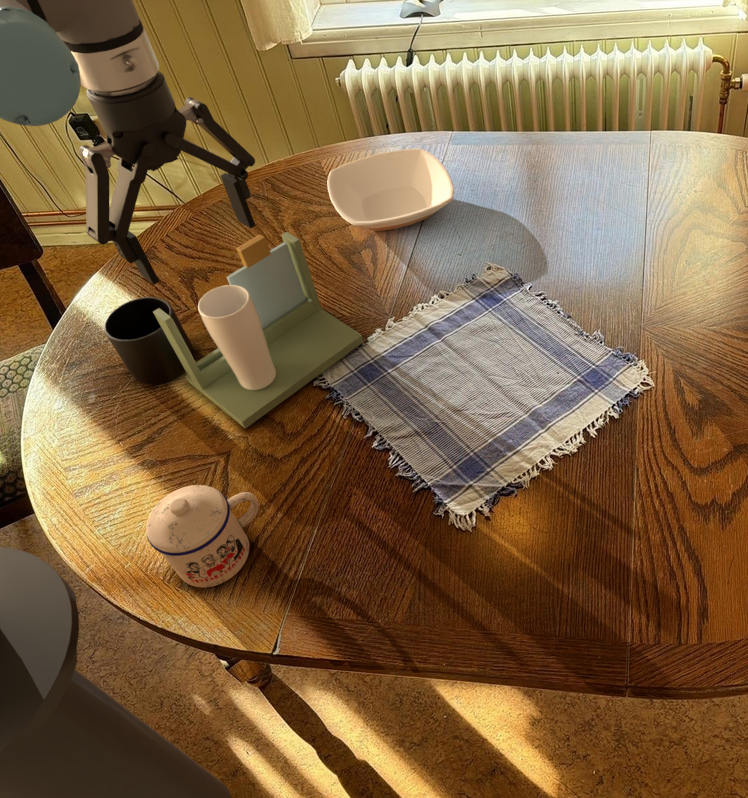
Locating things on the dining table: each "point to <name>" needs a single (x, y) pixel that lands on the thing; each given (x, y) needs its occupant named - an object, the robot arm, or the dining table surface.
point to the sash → (268, 279)
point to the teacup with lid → (201, 533)
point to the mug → (145, 340)
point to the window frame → (271, 352)
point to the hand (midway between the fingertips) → (200, 250)
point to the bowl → (390, 189)
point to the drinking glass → (238, 334)
